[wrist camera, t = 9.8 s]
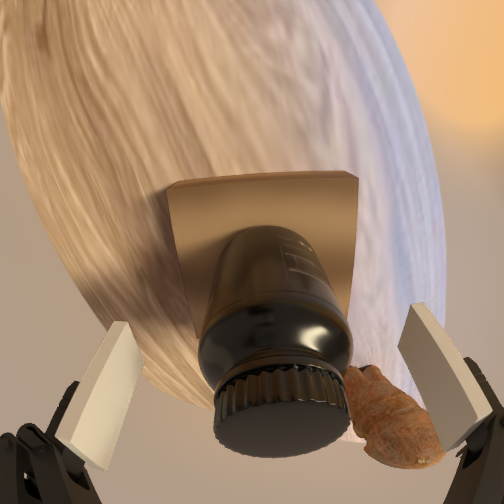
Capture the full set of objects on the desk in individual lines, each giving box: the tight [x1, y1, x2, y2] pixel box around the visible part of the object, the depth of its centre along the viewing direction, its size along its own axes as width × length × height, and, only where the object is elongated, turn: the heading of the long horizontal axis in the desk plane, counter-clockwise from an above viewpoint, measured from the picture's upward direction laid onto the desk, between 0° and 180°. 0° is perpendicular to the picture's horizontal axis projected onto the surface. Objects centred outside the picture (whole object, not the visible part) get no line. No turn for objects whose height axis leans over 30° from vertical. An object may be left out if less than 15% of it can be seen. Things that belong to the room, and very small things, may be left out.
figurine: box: [343, 366, 446, 469], centre depth 20 cm, size 8×8×15 cm
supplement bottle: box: [198, 225, 353, 458], centre depth 13 cm, size 7×7×12 cm
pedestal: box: [166, 171, 359, 339], centre depth 20 cm, size 12×12×3 cm
